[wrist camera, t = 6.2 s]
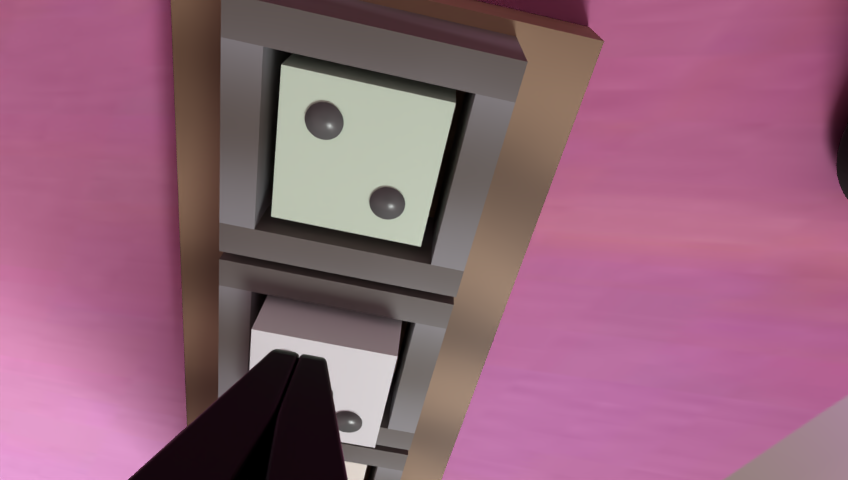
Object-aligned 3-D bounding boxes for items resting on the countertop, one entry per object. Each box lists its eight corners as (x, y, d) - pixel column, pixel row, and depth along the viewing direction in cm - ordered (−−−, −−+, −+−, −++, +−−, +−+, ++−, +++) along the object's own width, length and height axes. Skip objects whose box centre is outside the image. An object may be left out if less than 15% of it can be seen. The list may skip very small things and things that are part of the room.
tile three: (382, 394, 21) (374, 449, 19) (267, 373, 20) (246, 426, 18) (403, 306, 18) (397, 357, 16) (274, 281, 18) (250, 330, 16)
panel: (431, 473, 29) (428, 567, 25) (204, 434, 28) (162, 524, 24) (588, 27, 17) (631, 67, 13) (198, -65, 16) (111, -53, 12)
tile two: (424, 207, 18) (420, 247, 16) (292, 180, 18) (270, 217, 16) (455, 76, 16) (455, 103, 14) (304, 42, 15) (280, 64, 13)
